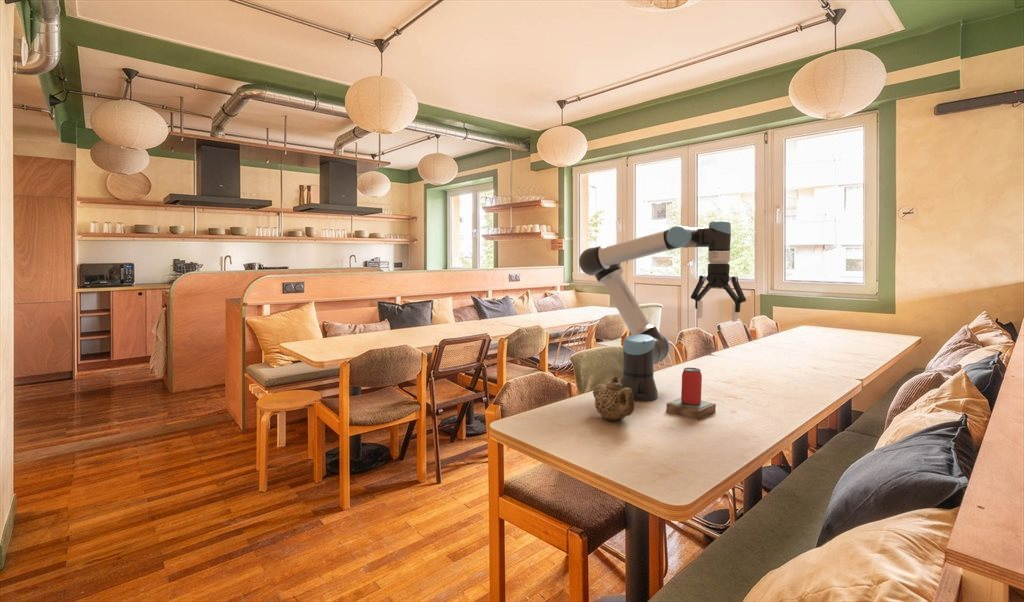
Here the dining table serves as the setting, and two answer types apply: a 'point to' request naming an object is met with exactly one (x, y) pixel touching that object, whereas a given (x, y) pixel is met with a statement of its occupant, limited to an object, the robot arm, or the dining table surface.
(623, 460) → the dining table surface
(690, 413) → the pedestal
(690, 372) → the beer can
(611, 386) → the teapot
